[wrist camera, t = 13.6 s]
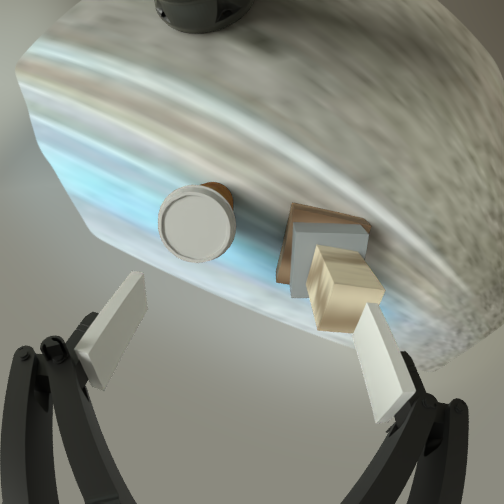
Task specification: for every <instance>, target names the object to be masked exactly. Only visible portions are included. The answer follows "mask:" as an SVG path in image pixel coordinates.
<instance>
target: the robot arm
mask: <svg viewBox="0 0 504 504" xmlns="http://www.w3.org/2000/svg"><path fill="white" fill-rule="evenodd" d="M154 1H155V7H156V11H157V13H158V15H159V16H160V17H161V19H162V20H163V21H164V22H165V23H167V24H168V25H169V26H170V27H172V28H174V29H176V30H178V31H181V32H186V33H207V32H212V31H216V30H219V29H222V28H225V27H227V26H229V25H231V24H233V23H234V22H236V21H237V20H239V19H240V18H241V17H242V16H244V15H245V14H246V12H247V11H248V10H249V9H250V7H251V5H252V3H253V1H254V0H154ZM147 310H148V307H147V299H146V291H145V281H144V273H141V272H136V271H132V272H131V273H130V274H129V275H128V277H127V278H126V279H125V280H124V282H123V283H122V284H121V286H120V287H119V288H118V289H117V291H116V292H115V293H114V295H113V296H112V297H111V298H110V300H109V301H108V303H107V304H106V305H105V307H104V308H103V309H102V310H101V312H100V313H95V312H92V313H90V314H89V315H87V316H86V317H85V318H84V319H83V320H82V322H81V323H80V325H79V326H78V327H77V328H76V330H75V331H74V332H73V334H72V335H71V337H70V338H69V339H68V341H67V342H66V343H65V342H64V340H63V339H62V338H61V337H59V336H50V337H47V338H46V339H45V340H44V341H43V342H42V343H41V346H40V350H41V352H42V354H36V353H35V352H34V350H33V348H32V347H30V346H22V347H20V348H18V349H17V350H16V352H15V354H14V357H13V361H12V365H11V370H10V375H9V379H8V384H7V390H6V396H5V403H4V410H3V419H2V431H1V450H0V453H1V454H0V465H1V466H0V467H1V486H2V487H1V488H2V499H3V502H2V504H59V500H58V494H57V487H56V479H55V470H54V457H53V435H52V416H53V405H54V409H55V414H56V418H57V422H58V426H59V430H60V434H61V437H62V441H63V444H64V447H65V451H66V454H67V457H68V460H69V463H70V465H71V468H72V471H73V474H74V476H75V479H76V481H77V484H78V486H79V489H80V491H81V493H82V496H83V498H84V501H85V504H136V502H135V500H134V499H133V497H132V495H131V493H130V492H129V490H128V488H127V486H126V484H125V482H124V480H123V478H122V476H121V475H120V472H119V470H118V468H117V466H116V464H115V462H114V460H113V458H112V456H111V453H110V451H109V449H108V446H107V444H106V441H105V439H104V437H103V434H102V432H101V429H100V426H99V424H98V421H97V418H96V415H95V412H94V410H93V406H92V403H91V400H90V397H89V394H88V390H87V388H86V386H85V385H86V383H87V381H88V380H89V382H90V383H91V385H92V387H95V388H98V389H101V390H103V391H105V389H106V387H107V385H108V383H109V381H110V379H111V377H112V375H113V373H114V371H115V369H116V367H117V365H118V363H119V362H120V360H121V358H122V356H123V354H124V352H125V350H126V348H127V346H128V345H129V343H130V341H131V339H132V337H133V335H134V333H135V332H136V330H137V328H138V326H139V324H140V323H141V321H142V319H143V317H144V315H145V314H146V312H147ZM352 338H353V341H354V345H355V348H356V351H357V354H358V358H359V362H360V365H361V369H362V372H363V376H364V379H365V383H366V387H367V391H368V394H369V398H370V402H371V406H372V410H373V414H374V419H375V423H376V424H377V423H386V422H389V421H390V420H391V419H392V418H393V417H395V421H396V422H395V423H394V424H393V425H392V426H391V427H390V428H389V429H388V430H387V431H386V432H387V433H388V432H389V433H388V434H387V436H386V438H385V440H384V442H383V443H382V445H381V447H380V448H379V450H378V452H377V453H376V455H375V456H374V458H373V459H372V461H371V462H370V464H369V465H368V467H367V468H366V470H365V471H364V473H363V474H362V476H361V477H360V479H359V480H358V481H357V483H356V484H355V485H354V487H353V488H352V490H351V491H350V492H349V493H348V495H347V496H346V497H345V499H344V500H343V501H342V502H341V504H395V502H396V501H397V499H398V497H399V496H400V494H401V492H402V490H403V489H404V487H405V485H406V483H407V481H408V479H409V477H410V475H411V473H412V471H413V469H414V467H415V465H416V463H417V467H416V472H415V476H414V480H413V484H412V487H411V491H410V495H409V498H408V501H407V504H461V500H462V495H463V489H464V482H465V475H466V465H467V454H468V430H469V425H468V424H469V421H468V420H469V418H468V417H469V415H468V407H467V405H466V403H465V402H464V401H463V400H461V399H457V398H456V399H453V400H452V401H451V402H450V403H449V404H445V403H439V402H438V401H437V399H436V398H435V397H434V396H433V395H431V394H429V393H426V391H425V388H424V386H423V383H422V381H421V379H420V376H419V374H418V372H417V369H416V367H415V365H414V362H413V360H412V358H411V357H410V356H409V355H408V353H407V352H406V351H400V350H399V348H398V346H397V343H396V341H395V339H394V337H393V335H392V332H391V330H390V328H389V326H388V324H387V322H386V320H385V317H384V315H383V313H382V311H381V309H380V307H379V305H378V303H368V302H367V303H366V305H365V308H364V310H363V312H362V315H361V317H360V319H359V322H358V324H357V326H356V328H355V331H354V333H353V335H352ZM417 461H418V462H417Z"/></svg>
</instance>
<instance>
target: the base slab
mask: <svg viewBox="0 0 504 504" xmlns="http://www.w3.org/2000/svg"><path fill="white" fill-rule="evenodd" d="M293 222H304V223H336V224H360V225H361V226H362V227H363V228H364V229H365V230H366V232H367V233H368V234H369V232H370V229H371V225H370V224H369V223H368V222H367V221H366V220H365V219H364V218H360V217H355V216H351V215H347V214H343V213H339V212H334V211H330V210H325V209H321V208H316V207H312V206H307V205H302V204H297V203H293V202H292V205H291V209H290V214H289V218H288V222H287V227H286V231H285V235H284V239H283V244H282V248H281V252H280V256H279V260H278V265H277V269H276V282H277V283H283V284H289V285H290V270H291V254H292V235H293Z"/></svg>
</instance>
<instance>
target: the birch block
mask: <svg viewBox="0 0 504 504" xmlns="http://www.w3.org/2000/svg"><path fill="white" fill-rule="evenodd" d="M306 287H307V291H308V294H309V298H310V302H311V306H312V310H313V314H314V318H315V322H316V326H317V330H319V331H330V332H342V333H354V331H355V328H356V326H357V324H358V322H359V319H360V317H361V315H362V312H363V310H364V308H365V305H366V303H367V302H368V303H378V305H379V304H380V302H381V300H382V297H383V295H384V292H385V289H384V288H383V286H382V285H381V283H380V282H379V280H378V279H377V277H376V276H375V275H374V273H373V272H372V270H371V269H370V268H369V266H368V265H367V263H366V262H365V261H364V259H363V258H362V257H361V255H360V254H359V253H358V251H352V250H346V249H341V248H335V247H329V246H323V245H317V244H316V248H315V252H314V256H313V260H312V263H311V267H310V271H309V274H308V278H307V281H306Z"/></svg>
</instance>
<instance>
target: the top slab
mask: <svg viewBox="0 0 504 504" xmlns="http://www.w3.org/2000/svg"><path fill="white" fill-rule="evenodd" d="M368 238H369V234H368V233H367V232H366V230H365V229H364V228H363V227H362V226H361V225H360V224H336V223H304V222H293V235H292V254H291V270H290V291H291V298H309V294H308V291H307V287H306V281H307V278H308V274H309V271H310V267H311V263H312V260H313V256H314V252H315V248H316V244H317V245H323V246H329V247H335V248H341V249H346V250H352V251H358V253H359V254H360V255H361V257H362V258H363V259H364V261H365V256H366V250H367V244H368Z"/></svg>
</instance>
